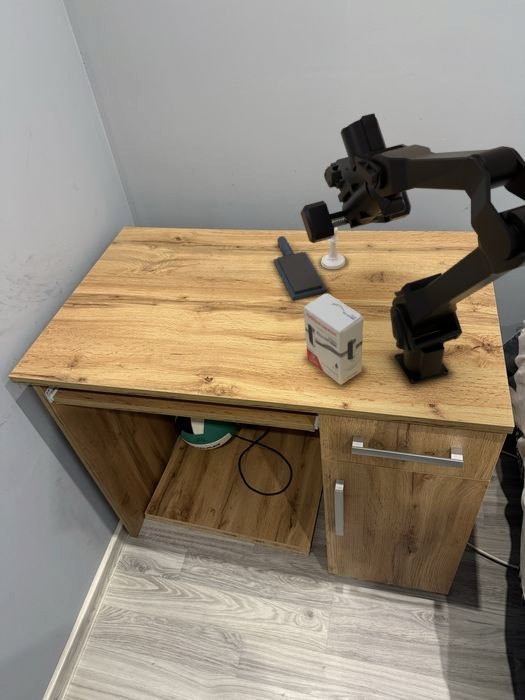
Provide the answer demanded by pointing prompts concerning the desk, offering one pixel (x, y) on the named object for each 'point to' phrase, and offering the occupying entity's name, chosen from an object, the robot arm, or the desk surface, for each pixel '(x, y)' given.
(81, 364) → the desk surface
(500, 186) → the robot arm
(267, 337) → the desk surface
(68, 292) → the desk surface
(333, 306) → the ink box
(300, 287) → the scrub brush
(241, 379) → the desk surface
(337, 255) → the chess piece
